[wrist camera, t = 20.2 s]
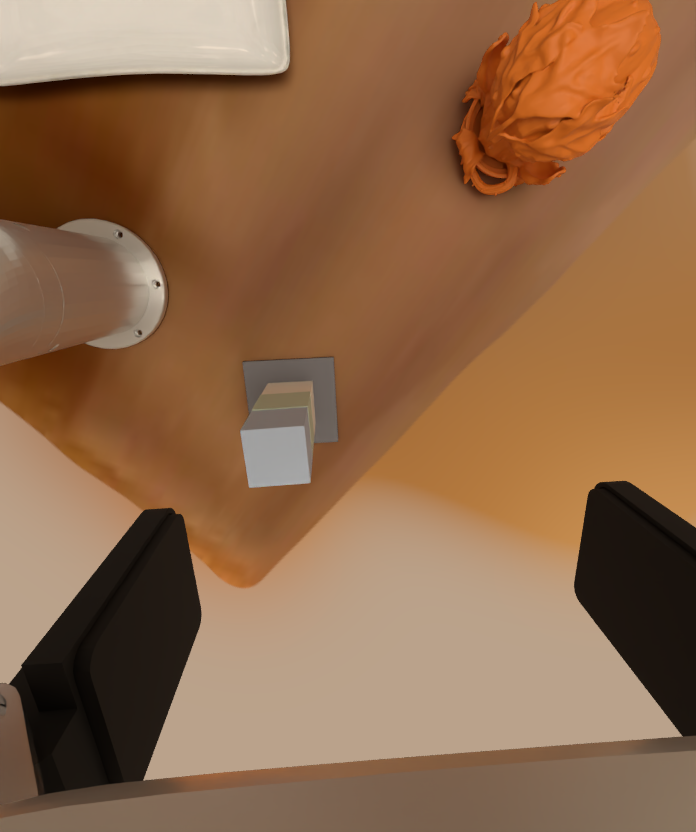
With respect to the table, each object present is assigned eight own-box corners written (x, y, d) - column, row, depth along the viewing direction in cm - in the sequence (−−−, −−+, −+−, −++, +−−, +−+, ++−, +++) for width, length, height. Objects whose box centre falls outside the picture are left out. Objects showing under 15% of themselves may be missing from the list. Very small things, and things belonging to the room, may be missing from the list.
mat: (253, 445, 50) (252, 446, 49) (243, 361, 46) (242, 362, 46) (338, 440, 50) (338, 441, 50) (333, 356, 47) (333, 357, 46)
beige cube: (272, 425, 49) (266, 441, 44) (267, 383, 47) (261, 395, 42) (315, 422, 49) (314, 438, 44) (312, 380, 47) (310, 392, 42)
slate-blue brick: (258, 462, 39) (249, 487, 34) (251, 411, 38) (240, 430, 33) (312, 457, 39) (310, 482, 34) (307, 406, 38) (304, 425, 33)
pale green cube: (266, 440, 44) (258, 460, 39) (260, 394, 42) (251, 409, 37) (314, 437, 44) (312, 457, 39) (310, 391, 42) (307, 405, 38)
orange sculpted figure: (571, 157, 42) (740, 75, 24) (475, 224, 43) (571, 190, 26) (522, 41, 38) (677, -147, 21) (420, 117, 40) (488, -1, 23)
